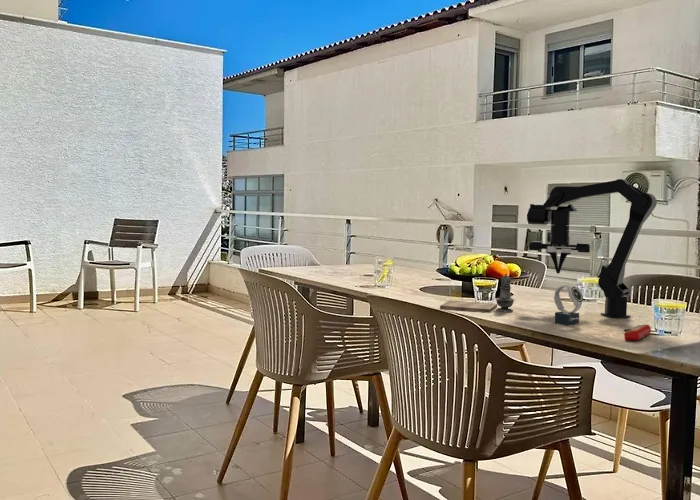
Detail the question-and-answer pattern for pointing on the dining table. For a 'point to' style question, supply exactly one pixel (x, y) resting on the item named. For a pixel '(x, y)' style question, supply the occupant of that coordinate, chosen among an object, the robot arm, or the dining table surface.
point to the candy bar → (637, 332)
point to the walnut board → (469, 306)
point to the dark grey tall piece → (505, 295)
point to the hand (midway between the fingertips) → (558, 273)
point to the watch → (564, 315)
